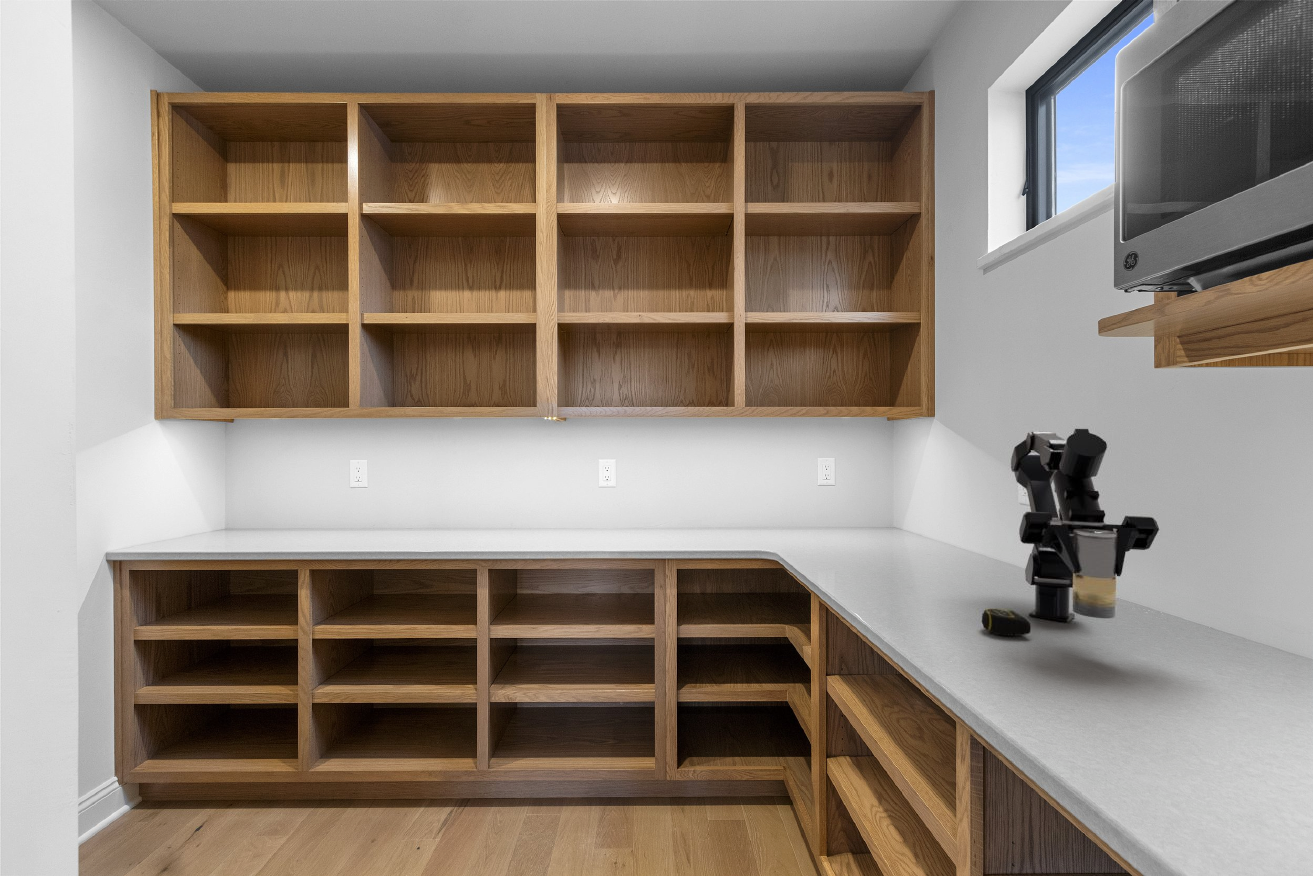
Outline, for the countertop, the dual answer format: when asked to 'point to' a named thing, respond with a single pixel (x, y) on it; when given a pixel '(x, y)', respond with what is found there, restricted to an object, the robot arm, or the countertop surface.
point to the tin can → (1095, 573)
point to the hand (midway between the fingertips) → (1097, 573)
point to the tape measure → (1005, 622)
